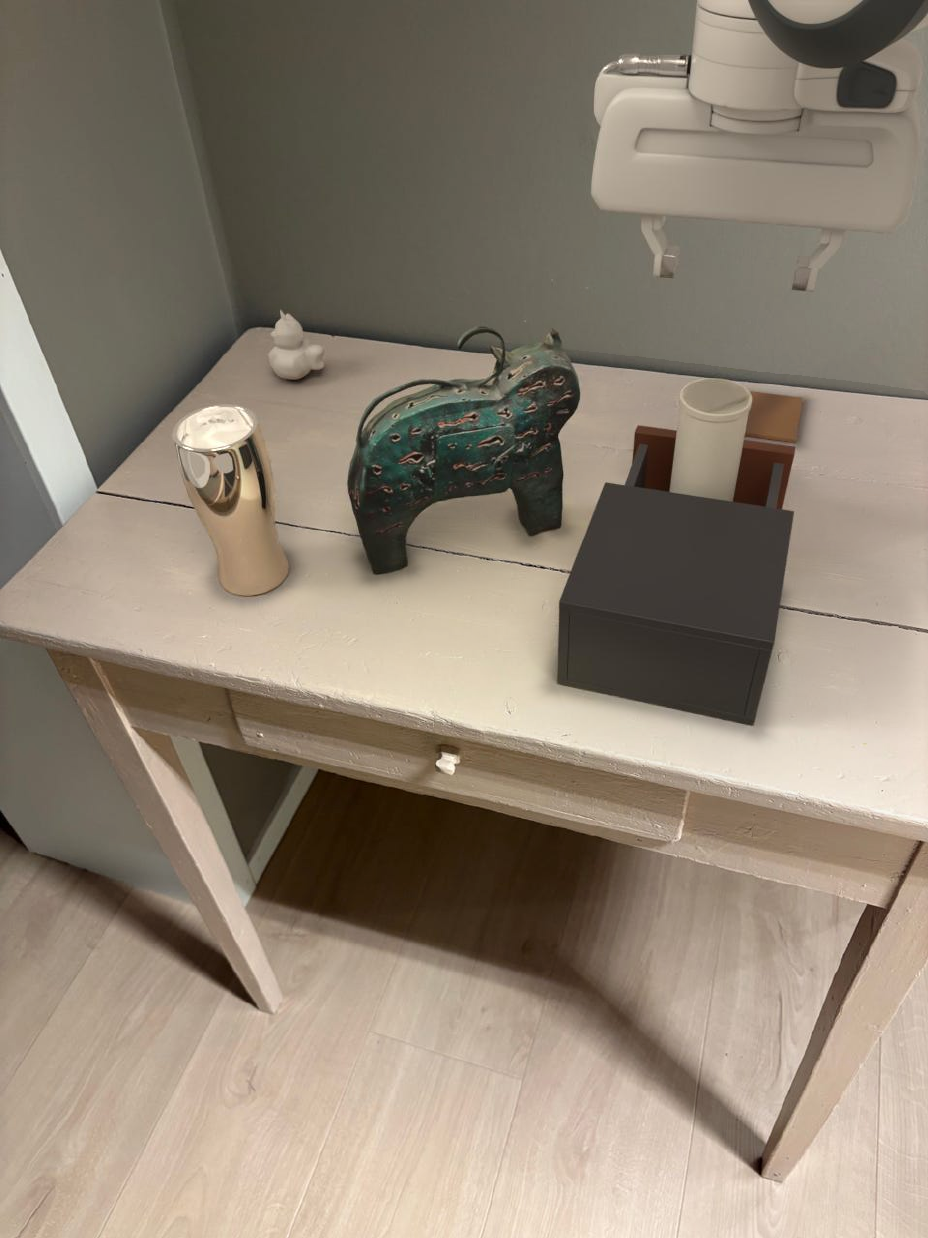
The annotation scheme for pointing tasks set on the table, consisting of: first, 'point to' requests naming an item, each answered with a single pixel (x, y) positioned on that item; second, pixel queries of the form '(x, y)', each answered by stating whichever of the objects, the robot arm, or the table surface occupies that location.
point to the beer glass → (233, 494)
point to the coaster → (774, 417)
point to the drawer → (757, 473)
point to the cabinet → (675, 601)
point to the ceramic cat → (465, 446)
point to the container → (710, 438)
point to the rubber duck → (293, 350)
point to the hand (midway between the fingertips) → (732, 281)
